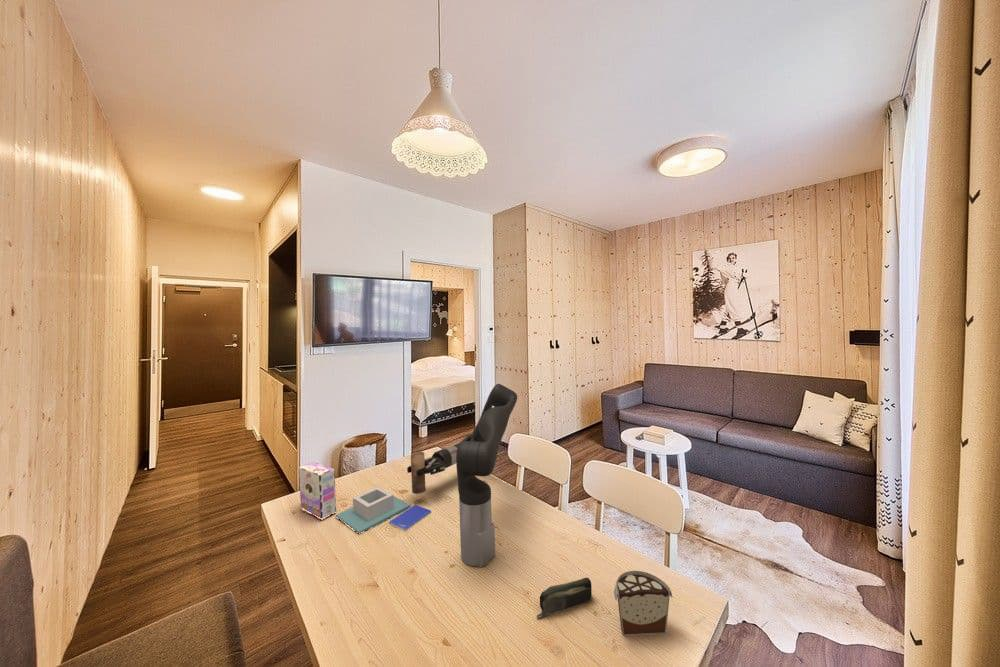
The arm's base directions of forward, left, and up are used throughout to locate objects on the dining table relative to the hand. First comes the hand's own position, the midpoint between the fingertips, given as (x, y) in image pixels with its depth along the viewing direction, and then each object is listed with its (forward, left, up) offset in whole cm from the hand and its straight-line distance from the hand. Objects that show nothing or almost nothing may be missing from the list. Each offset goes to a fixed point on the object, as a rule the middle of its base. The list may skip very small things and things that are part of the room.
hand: (412, 472), depth 127 cm
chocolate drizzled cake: (-82, 0, -13) cm, 83 cm away
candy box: (+24, +24, -13) cm, 36 cm away
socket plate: (+7, +12, -12) cm, 19 cm away
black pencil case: (-66, +6, -13) cm, 68 cm away
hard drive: (-7, +6, -13) cm, 16 cm away
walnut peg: (0, -3, -8) cm, 8 cm away
